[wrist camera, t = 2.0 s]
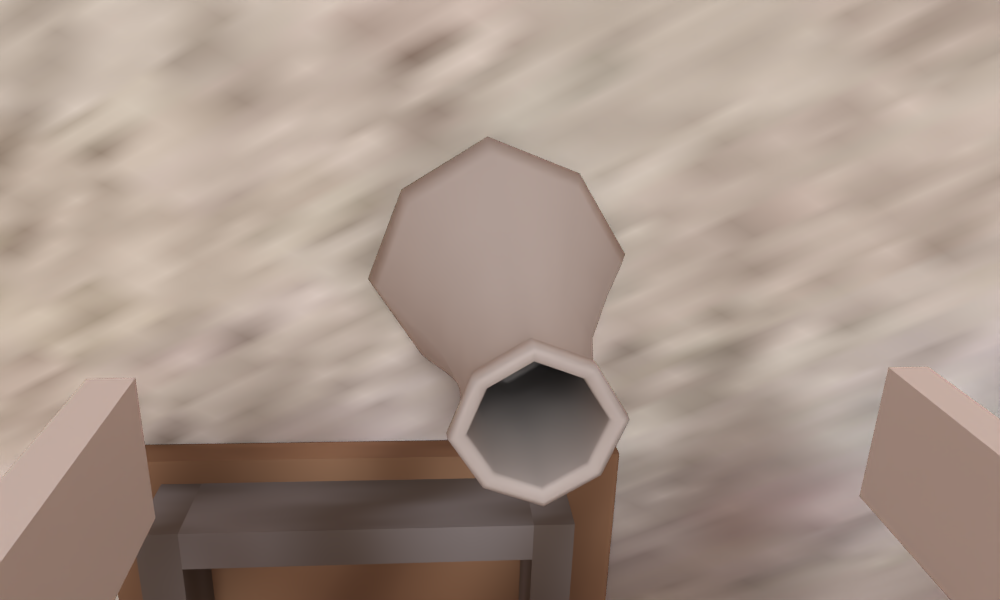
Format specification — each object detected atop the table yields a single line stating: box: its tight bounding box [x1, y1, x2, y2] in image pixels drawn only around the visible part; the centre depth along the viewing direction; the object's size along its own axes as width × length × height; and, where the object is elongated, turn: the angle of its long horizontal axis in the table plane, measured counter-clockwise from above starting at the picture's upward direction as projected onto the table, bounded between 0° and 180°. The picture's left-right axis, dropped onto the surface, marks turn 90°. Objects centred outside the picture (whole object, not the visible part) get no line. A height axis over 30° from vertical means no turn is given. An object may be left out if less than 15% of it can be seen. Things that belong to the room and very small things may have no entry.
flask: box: [368, 137, 629, 506], centre depth 19 cm, size 7×7×10 cm
